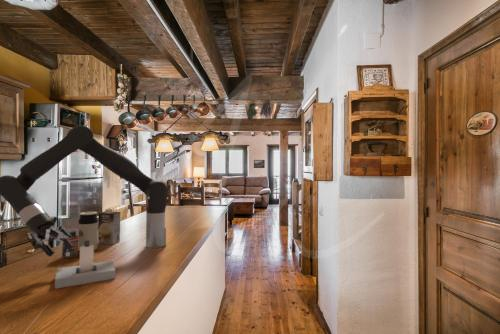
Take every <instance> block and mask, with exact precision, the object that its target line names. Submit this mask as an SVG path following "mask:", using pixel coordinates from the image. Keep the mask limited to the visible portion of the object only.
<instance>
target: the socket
mask: <svg viewBox="0 0 500 334" xmlns="http://www.w3.org/2000/svg"><path fill="white" fill-rule="evenodd" d="M114 264H115V263H114V262H113V260H107V261H100V262H93V271H90V272H84V273H79V267H80V264H78V265H72V266H65V267H64V266H63V267H58V268H57V271H56V274H55V278H54V289H55V290H56V289H61V288H67V287H73V286H74V287H75V286H79V285H84V284H91V283H96V282H101V281H107V280H114V279H116V268H115V265H114Z"/></svg>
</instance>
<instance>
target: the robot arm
mask: <svg viewBox="0 0 500 334" xmlns="http://www.w3.org/2000/svg"><path fill="white" fill-rule="evenodd" d="M77 150H79V151H81V152H83V153H85V154H87V155H88V156H90V157H92V158H93V159H95V160H96V161H97V162H98V163H99V164H101V165H102V166H103V167H105V168H107V170H108V171H110V172H112V173H113V174H115V175H116V176H118V177H120V178H121V179H123V180H124V181H126V182H129V183H130V184H132V185H133V186H135V187H136V188H137V189H138V190H140V191H141V192H142V193H143V194H144V195H146V196H147V197H148V198H149V199H148V205H147V207H146V208H145V210H146V216H145V217H146V219H145V223H146V225H145V226H146V227H145V248H148V249H157V248H163V247H166V246H167V226H166V208H167V204H168V203H167V202H168V188H167V185H166V183H165V182H163V181H159V180H155V179H153V178H151V177H149V176H148V175H146V174H145V173H144V172H142V171H141V169H140V168H138V166H137V165H136V164H135V163H134V162H133V161H132V160H130V159H129V158H127V157H126V156H125V155H123V154H122V153H120V152H119V151H116V150H114V149H113V148H110V147H107V146H106V145H104V144H103V143H101V142H100V141H99V140H97V139H96V138H95V137H94V133H93V130H92V129H91V128H90V127H88V126H86V125H76V126H73V127H71V128H70V129H69V131H68V132H67V133H66V135H65V136H64V137H63V138H62V139H60V141H58V142H57V143H55V144H54V145H53V146H51V147H50V148H48V149H46V150H44V151H43V152H42V153H40V154H39V155H37V156H35V157H34V158H33V159H31V160H30V161H28V162H27V163H25V164H24V165H23V166H21V167H20V169H19V171H20V174H18V176H17V177H15V176H13V175H7V174H5V175H1V176H0V195H1V197H2V198H3V199H4V200H5V201H6V203H8V204H9V205H10V206H11V208H12V209H13V211H14V212H15V213H16V214H17V215H18V218H19V219H20V221H21V222H22V223H23V225H24V226H25V227H26V228H27V230H28V231H29V232H30V233H29V234H28V235H27V236H26V239H27V240H28V242H29V244H30V245H31V246H32V248H34V249H35V250H38V249H40V250H42V251H43V252H44V253H45V254H46V255H47V256H48V257H52V256H53V255H54V254H55V250H54V249H53V248H52V247H51V246H50V244H48V243H49V242H50V241H55V242H61V243H62V244H64V245H65V247H66V248H67V249H68V250H70V249H72V248H73V244H72V243H71V241H70V240H69V238H70V237H71V234H70V233H69V232H68V231H69V230H67V228H66V227H65V226H64V225H63V224H60V226H58V227H56V226H55V225H54V220H53V219H52V218H51V217H50V215H49V214H48V212H46V210H45V209H44V208H43V207H42V206H41V204H40V203H38V202H37V201H36V199H35V198H34V197H33V196H32V195H31V194H29V192H28V191H29V190H30V189H31V187H32V186H33V185H34V184H35V182H36V181H38V180H39V179H40V178H41V177H42V176H44V175H45V174H47V173H48V172H49V171H50V170H52V169H53V168H54V167H56V166H57V165H58V164H59V163H60V162H62V161H63V160H65V159H66V158H67V157H68V156H70V155H71V154H73V153H74V152H77ZM65 234H66V235H67V236H66V235H65ZM63 238H64V239H63Z"/></svg>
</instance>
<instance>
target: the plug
mask: <svg viewBox="0 0 500 334" xmlns="http://www.w3.org/2000/svg"><path fill="white" fill-rule="evenodd" d="M89 242H90V241H89V240H86V241H84V246H80V251H79V265H80V267H79V273H84V272H90V271H93V263H94V259H95V258H94V256H95V255H94V253H95V250H94V245H89Z"/></svg>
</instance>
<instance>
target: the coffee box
mask: <svg viewBox="0 0 500 334" xmlns="http://www.w3.org/2000/svg"><path fill="white" fill-rule="evenodd" d="M120 241H121V211H107V210H105V211H102V212H99V213H98V232H97V244H107V245H115V244H117V243H118V242H120Z"/></svg>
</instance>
